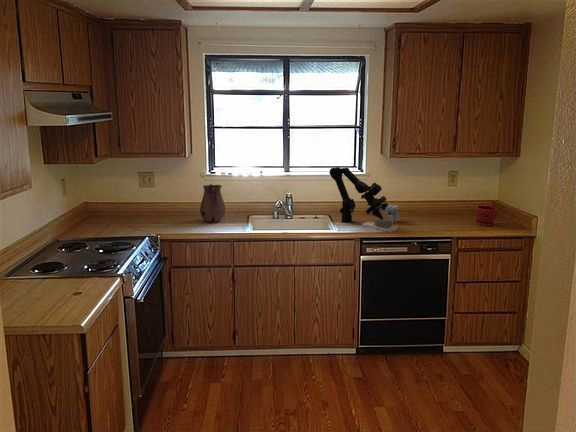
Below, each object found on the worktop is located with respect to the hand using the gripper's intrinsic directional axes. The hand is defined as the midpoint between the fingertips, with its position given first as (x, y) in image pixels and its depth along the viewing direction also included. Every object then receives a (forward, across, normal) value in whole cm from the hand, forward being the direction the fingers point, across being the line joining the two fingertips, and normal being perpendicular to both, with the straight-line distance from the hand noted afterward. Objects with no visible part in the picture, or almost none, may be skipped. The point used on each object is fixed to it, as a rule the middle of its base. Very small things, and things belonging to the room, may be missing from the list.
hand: (384, 218), depth 322 cm
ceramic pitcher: (-65, -63, +74) cm, 117 cm away
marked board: (+2, 0, +8) cm, 8 cm away
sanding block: (+3, 0, +4) cm, 5 cm away
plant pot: (+35, +56, -25) cm, 71 cm away
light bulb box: (-1, +21, +11) cm, 24 cm away
